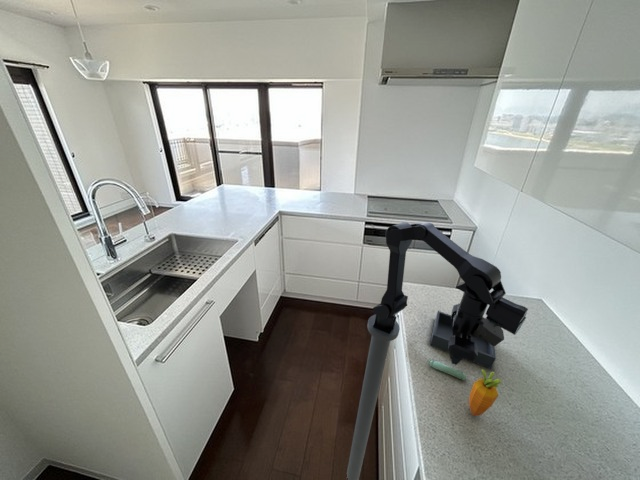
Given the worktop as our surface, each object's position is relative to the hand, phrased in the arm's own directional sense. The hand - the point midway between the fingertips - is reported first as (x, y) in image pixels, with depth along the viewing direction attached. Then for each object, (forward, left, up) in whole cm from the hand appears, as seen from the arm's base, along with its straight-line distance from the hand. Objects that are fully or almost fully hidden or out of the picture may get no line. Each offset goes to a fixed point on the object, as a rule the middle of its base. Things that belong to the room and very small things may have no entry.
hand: (454, 351), depth 73 cm
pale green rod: (0, 0, -8) cm, 8 cm away
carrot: (+7, -10, -8) cm, 15 cm away
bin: (+3, +15, -8) cm, 17 cm away
